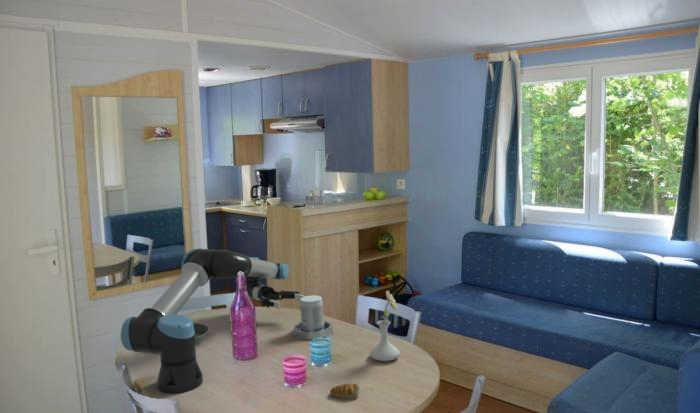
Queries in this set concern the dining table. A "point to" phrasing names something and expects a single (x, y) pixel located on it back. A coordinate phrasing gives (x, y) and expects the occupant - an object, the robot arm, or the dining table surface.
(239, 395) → the dining table surface
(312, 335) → the grey pet bowl
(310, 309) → the supplement tub
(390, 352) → the flower in vase
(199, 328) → the cake pan
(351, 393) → the pastry
